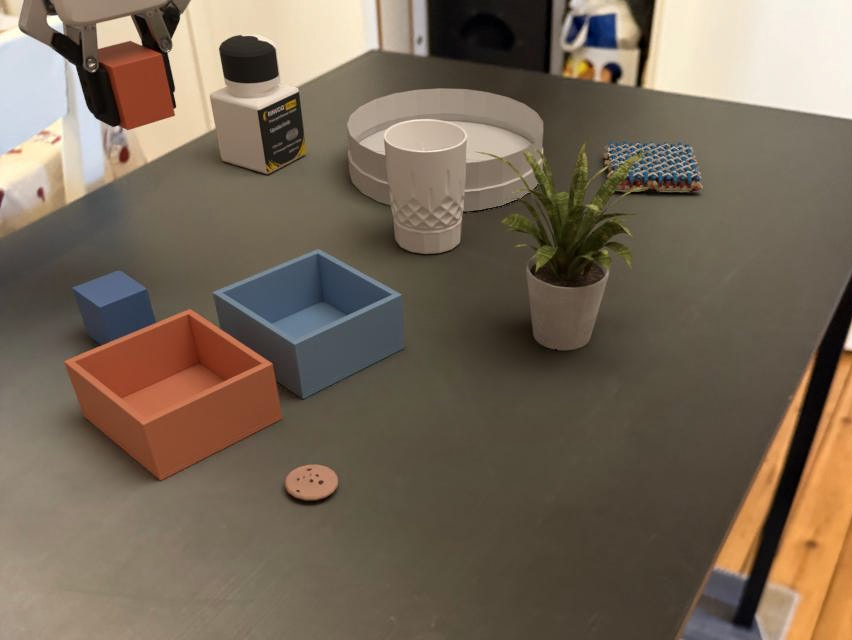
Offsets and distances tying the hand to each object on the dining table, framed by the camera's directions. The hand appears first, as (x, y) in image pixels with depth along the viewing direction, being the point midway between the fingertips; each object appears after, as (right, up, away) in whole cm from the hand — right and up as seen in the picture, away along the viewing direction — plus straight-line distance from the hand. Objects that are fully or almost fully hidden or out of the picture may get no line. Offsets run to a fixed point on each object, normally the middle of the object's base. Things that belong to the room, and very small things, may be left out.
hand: (135, 110), depth 75 cm
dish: (+24, +10, +30) cm, 40 cm away
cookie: (+16, -32, -7) cm, 37 cm away
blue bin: (+14, -18, +5) cm, 23 cm away
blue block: (-3, -17, +6) cm, 18 cm away
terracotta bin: (+5, -26, -2) cm, 26 cm away
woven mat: (+48, +9, +30) cm, 57 cm away
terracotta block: (0, 0, 0) cm, 0 cm away
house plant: (+34, -16, +7) cm, 39 cm away
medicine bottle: (+3, +13, +32) cm, 34 cm away
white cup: (+23, -3, +19) cm, 30 cm away
